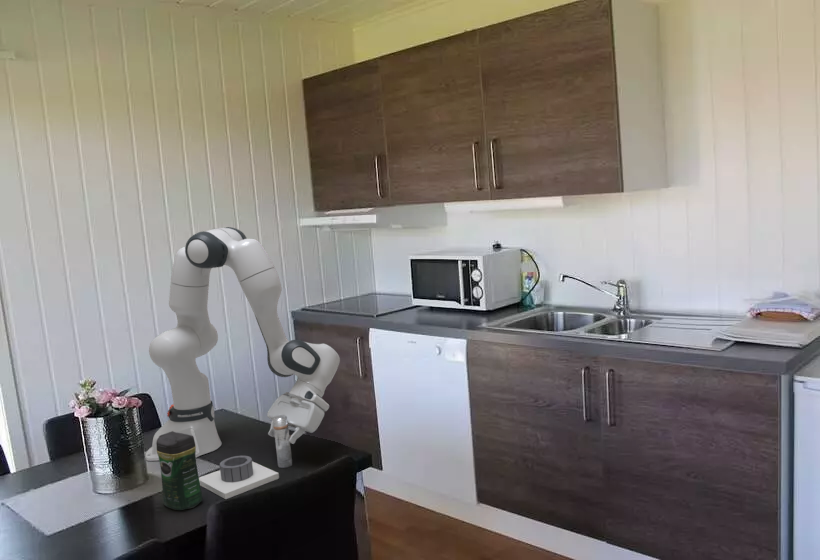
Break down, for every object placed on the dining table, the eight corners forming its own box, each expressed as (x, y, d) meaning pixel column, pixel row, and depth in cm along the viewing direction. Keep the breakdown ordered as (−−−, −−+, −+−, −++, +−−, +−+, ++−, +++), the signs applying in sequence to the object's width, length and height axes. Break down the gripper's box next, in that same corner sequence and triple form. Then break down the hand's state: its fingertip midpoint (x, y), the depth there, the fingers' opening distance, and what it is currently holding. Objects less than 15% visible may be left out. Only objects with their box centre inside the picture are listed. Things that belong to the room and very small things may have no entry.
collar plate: (225, 499, 179) (223, 478, 178) (197, 483, 191) (194, 464, 190) (279, 478, 190) (276, 458, 189) (249, 464, 201) (246, 446, 201)
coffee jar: (208, 501, 179) (199, 431, 176) (181, 514, 172) (172, 442, 170) (185, 494, 184) (176, 426, 182) (158, 506, 178) (149, 436, 176)
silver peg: (277, 468, 197) (271, 420, 195) (278, 462, 201) (273, 415, 199) (291, 466, 197) (286, 418, 195) (293, 461, 201) (287, 414, 199)
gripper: (277, 386, 209) (252, 427, 203) (319, 396, 194) (293, 441, 189) (291, 396, 212) (267, 437, 207) (333, 407, 198) (308, 451, 192)
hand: (280, 439), depth 197 cm, fingers open, 8 cm apart
